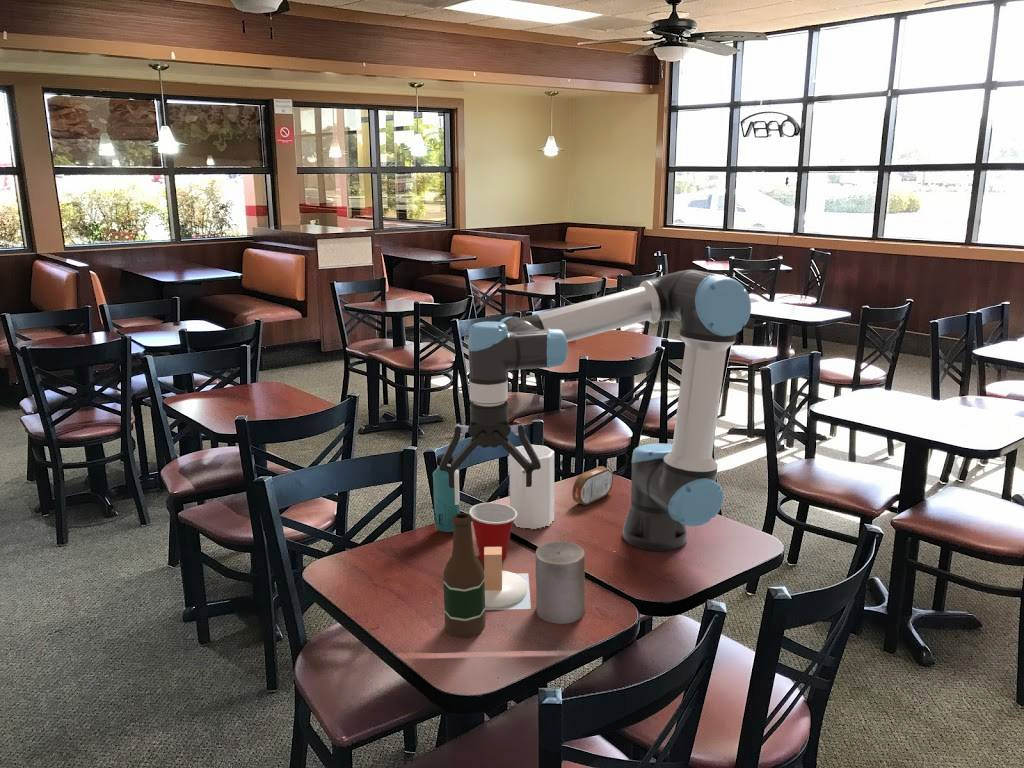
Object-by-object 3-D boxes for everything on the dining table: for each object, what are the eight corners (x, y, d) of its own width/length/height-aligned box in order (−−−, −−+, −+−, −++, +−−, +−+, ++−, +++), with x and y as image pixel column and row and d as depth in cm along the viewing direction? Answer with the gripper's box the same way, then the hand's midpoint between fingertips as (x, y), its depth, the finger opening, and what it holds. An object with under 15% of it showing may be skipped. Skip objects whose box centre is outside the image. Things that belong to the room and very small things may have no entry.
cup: (563, 519, 207) (563, 450, 203) (535, 534, 199) (535, 462, 195) (529, 508, 214) (528, 441, 210) (501, 522, 206) (500, 452, 202)
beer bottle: (445, 621, 161) (441, 508, 155) (484, 619, 161) (482, 506, 155) (445, 643, 153) (441, 525, 147) (486, 641, 154) (484, 523, 148)
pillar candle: (559, 597, 170) (559, 530, 166) (595, 614, 163) (595, 545, 159) (525, 614, 163) (524, 545, 159) (561, 633, 156) (560, 562, 152)
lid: (526, 574, 178) (525, 535, 175) (528, 607, 164) (528, 565, 162) (461, 575, 177) (460, 536, 175) (458, 609, 164) (457, 567, 162)
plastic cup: (512, 572, 180) (512, 522, 177) (465, 568, 182) (463, 518, 179) (521, 550, 191) (521, 502, 188) (476, 547, 193) (475, 499, 190)
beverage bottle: (465, 529, 202) (463, 452, 197) (452, 539, 197) (450, 461, 192) (442, 524, 205) (440, 449, 200) (429, 535, 199) (426, 457, 194)
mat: (528, 576, 178) (528, 573, 178) (530, 612, 164) (530, 608, 164) (459, 577, 178) (459, 574, 178) (456, 613, 164) (455, 610, 163)
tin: (605, 490, 226) (606, 461, 224) (615, 493, 224) (615, 464, 222) (571, 506, 215) (571, 476, 213) (580, 509, 213) (580, 479, 211)
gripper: (551, 395, 164) (551, 493, 170) (427, 396, 164) (430, 495, 170) (553, 405, 157) (553, 508, 162) (423, 407, 157) (427, 509, 162)
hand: (490, 501), depth 166 cm, fingers open, 13 cm apart
